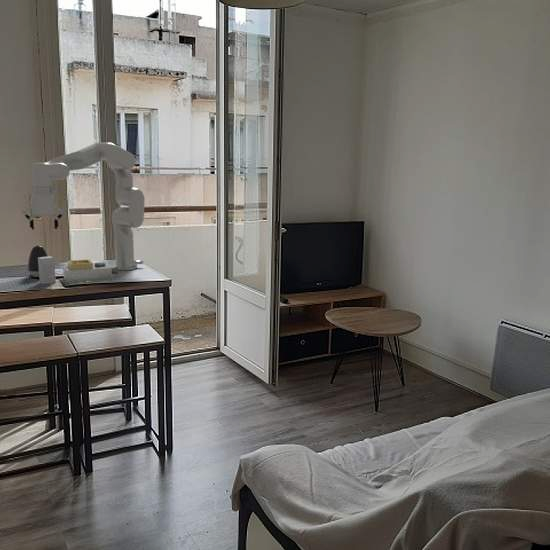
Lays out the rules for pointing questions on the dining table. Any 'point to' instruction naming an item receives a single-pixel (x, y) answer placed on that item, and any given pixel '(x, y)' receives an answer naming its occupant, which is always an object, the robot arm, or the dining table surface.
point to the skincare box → (46, 270)
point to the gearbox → (87, 271)
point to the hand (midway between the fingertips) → (44, 229)
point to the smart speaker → (35, 260)
